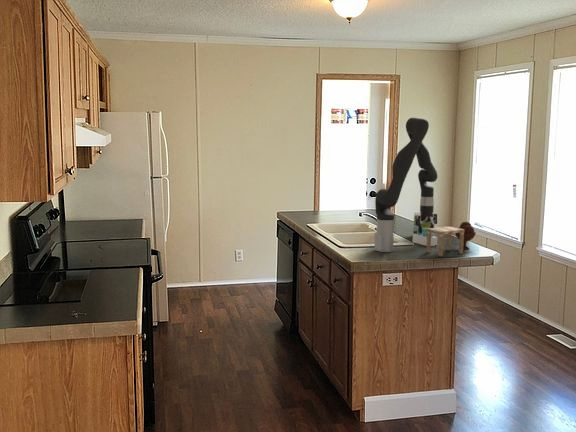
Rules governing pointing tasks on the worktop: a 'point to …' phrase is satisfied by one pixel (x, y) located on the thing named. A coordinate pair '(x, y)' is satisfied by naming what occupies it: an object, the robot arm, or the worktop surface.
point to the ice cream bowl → (466, 233)
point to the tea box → (415, 229)
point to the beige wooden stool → (443, 231)
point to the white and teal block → (424, 238)
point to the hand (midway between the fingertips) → (426, 232)
